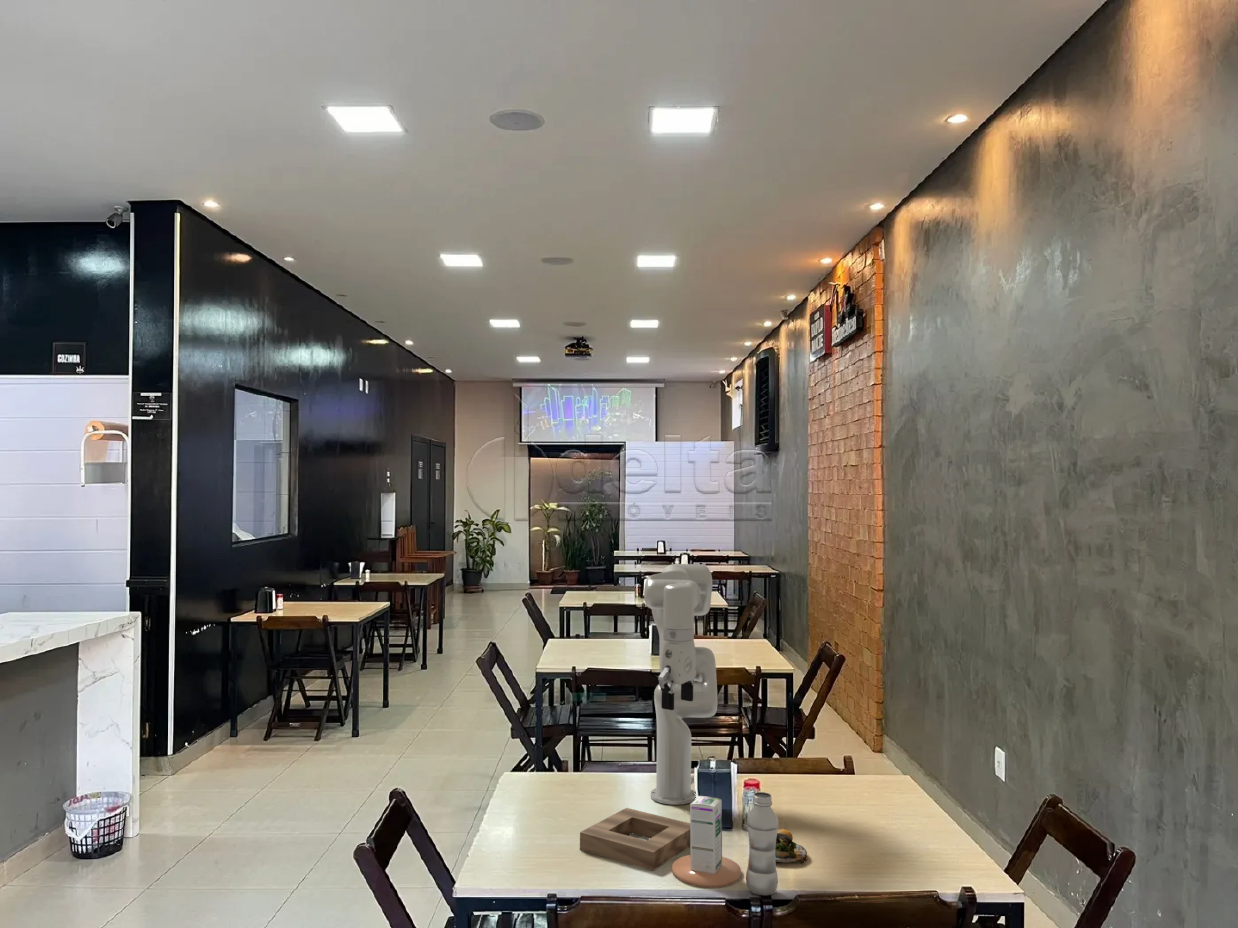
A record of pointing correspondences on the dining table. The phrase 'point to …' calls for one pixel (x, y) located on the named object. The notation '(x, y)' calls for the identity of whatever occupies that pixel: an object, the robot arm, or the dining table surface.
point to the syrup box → (706, 834)
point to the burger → (788, 848)
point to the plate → (706, 874)
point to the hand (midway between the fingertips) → (677, 704)
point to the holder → (618, 845)
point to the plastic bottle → (762, 846)
